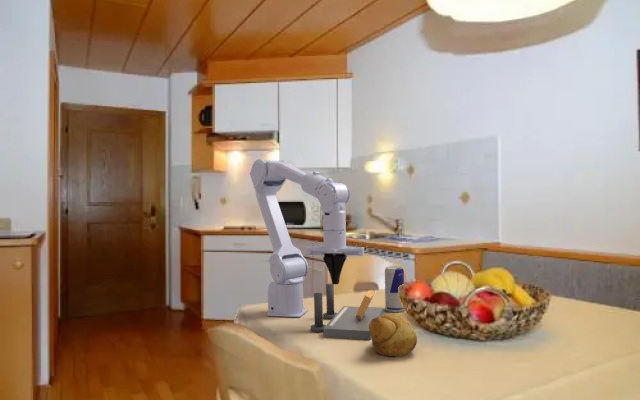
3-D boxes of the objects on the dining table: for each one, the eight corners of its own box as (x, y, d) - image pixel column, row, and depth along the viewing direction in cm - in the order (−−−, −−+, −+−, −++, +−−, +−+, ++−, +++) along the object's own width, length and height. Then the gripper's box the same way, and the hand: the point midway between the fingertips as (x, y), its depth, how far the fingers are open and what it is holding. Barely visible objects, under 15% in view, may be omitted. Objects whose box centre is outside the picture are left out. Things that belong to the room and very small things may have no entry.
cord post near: (308, 332, 115) (307, 295, 115) (313, 327, 119) (312, 291, 119) (324, 333, 114) (323, 295, 114) (328, 328, 118) (328, 292, 118)
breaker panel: (323, 337, 111) (323, 327, 111) (343, 313, 132) (343, 305, 132) (370, 339, 108) (370, 330, 108) (383, 315, 129) (383, 307, 129)
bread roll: (373, 339, 109) (373, 304, 109) (417, 340, 107) (416, 305, 107) (367, 358, 96) (367, 319, 96) (417, 361, 94) (416, 320, 94)
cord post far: (321, 319, 126) (320, 285, 126) (325, 315, 130) (324, 282, 130) (336, 320, 125) (335, 285, 125) (339, 316, 129) (338, 283, 129)
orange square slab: (354, 318, 117) (364, 295, 116) (358, 312, 123) (368, 290, 122) (360, 321, 117) (370, 298, 116) (364, 315, 122) (374, 293, 122)
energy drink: (406, 312, 132) (405, 269, 131) (386, 312, 132) (385, 269, 132) (403, 307, 137) (402, 266, 137) (384, 308, 137) (383, 266, 137)
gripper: (302, 231, 119) (303, 285, 119) (360, 231, 115) (361, 287, 115) (310, 229, 126) (311, 280, 126) (364, 229, 122) (365, 282, 122)
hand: (335, 283), depth 121 cm, fingers closed
